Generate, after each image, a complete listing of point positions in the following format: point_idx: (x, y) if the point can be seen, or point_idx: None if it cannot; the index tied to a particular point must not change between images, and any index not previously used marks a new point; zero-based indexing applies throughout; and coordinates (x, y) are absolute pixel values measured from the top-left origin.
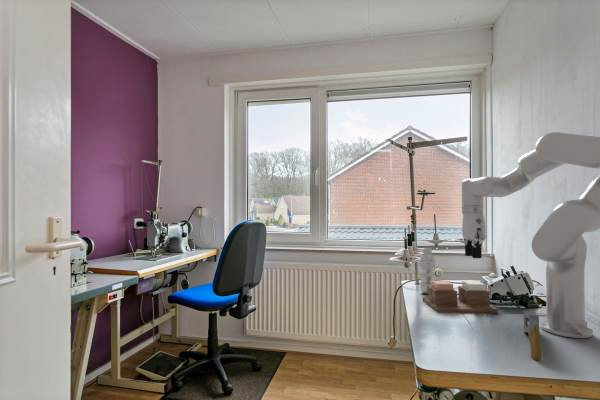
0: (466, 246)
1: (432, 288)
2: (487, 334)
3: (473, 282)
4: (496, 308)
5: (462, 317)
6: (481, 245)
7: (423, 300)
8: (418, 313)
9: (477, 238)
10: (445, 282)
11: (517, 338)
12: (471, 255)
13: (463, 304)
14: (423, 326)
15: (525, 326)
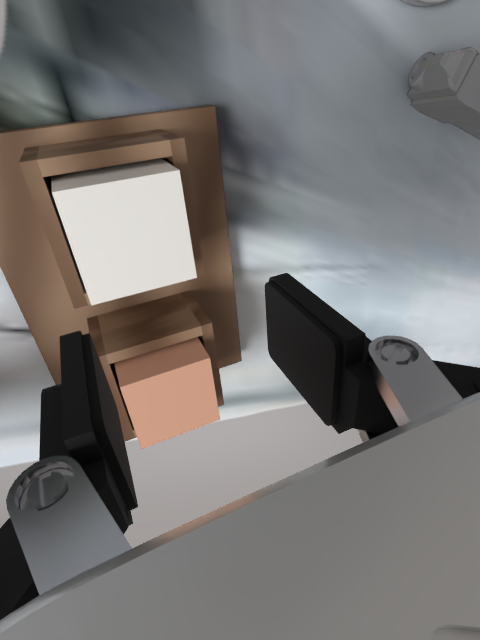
0: (135, 505)
1: None
2: (413, 236)
3: (128, 238)
4: (207, 110)
5: None
6: (425, 357)
7: None
8: (252, 398)
9: (187, 525)
10: (173, 391)
11: (449, 161)
12: (98, 356)
13: None
14: None
15: (468, 126)
